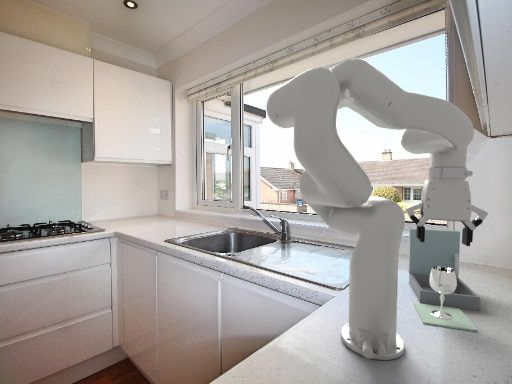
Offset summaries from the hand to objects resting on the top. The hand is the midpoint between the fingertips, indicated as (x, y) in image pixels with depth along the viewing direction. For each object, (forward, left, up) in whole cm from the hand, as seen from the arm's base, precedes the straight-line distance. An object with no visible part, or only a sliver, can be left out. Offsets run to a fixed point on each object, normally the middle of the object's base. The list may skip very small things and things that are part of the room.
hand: (443, 243), depth 69 cm
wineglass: (0, 0, -19) cm, 19 cm away
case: (+15, -4, -19) cm, 25 cm away
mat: (0, 0, -19) cm, 19 cm away
